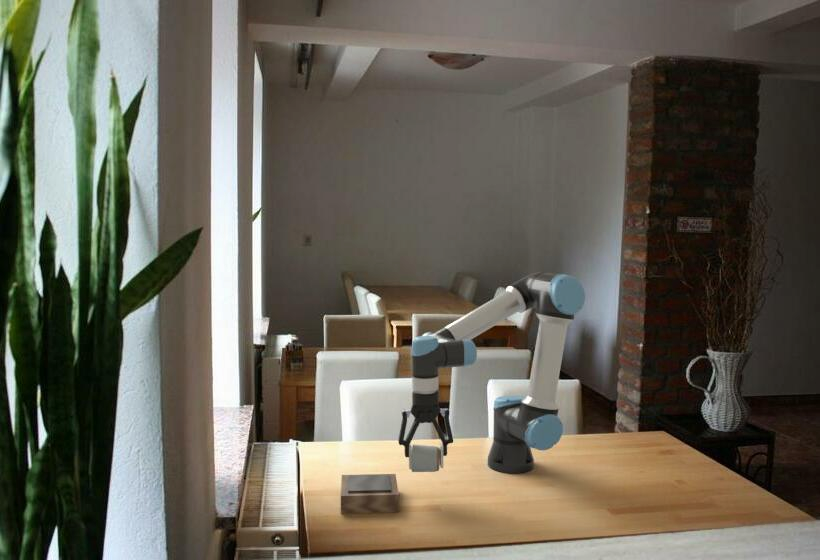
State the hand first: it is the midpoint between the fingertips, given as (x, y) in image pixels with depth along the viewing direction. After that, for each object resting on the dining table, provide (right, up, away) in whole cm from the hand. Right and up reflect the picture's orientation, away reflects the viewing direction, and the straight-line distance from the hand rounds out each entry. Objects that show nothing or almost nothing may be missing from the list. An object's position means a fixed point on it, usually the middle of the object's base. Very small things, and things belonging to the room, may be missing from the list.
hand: (425, 467), depth 211 cm
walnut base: (-16, -9, -1) cm, 19 cm away
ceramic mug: (0, -1, +1) cm, 1 cm away
